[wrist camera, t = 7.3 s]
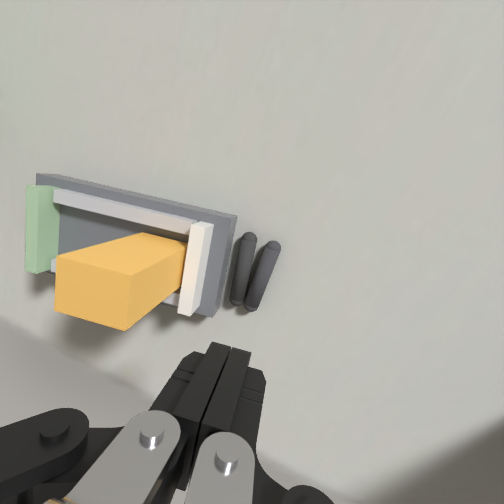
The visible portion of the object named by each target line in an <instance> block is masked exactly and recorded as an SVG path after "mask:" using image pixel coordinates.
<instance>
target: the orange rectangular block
mask: <svg viewBox="0 0 504 504" xmlns="http://www.w3.org/2000/svg"><path fill="white" fill-rule="evenodd" d="M187 247H188V243H184V242H180V241H176V240H172V239H168V238H164V237H160V236H156V235H152V234H148V233H144V232H142V233H138V234H134V235H131V236H127V237H123V238H120V239H116V240H112V241H109V242H105V243H101V244H98V245H94V246H90V247H87V248H83V249H79V250H76V251H72V252H68V253H65V254H61V255H57V256H56V280H55V304H54V311H57V312H61V313H64V314H67V315H71V316H74V317H78V318H81V319H85V320H88V321H92V322H95V323H98V324H102V325H105V326H109V327H112V328H116V329H119V330H122V331H126V330H127V329H129V328H130V327H131V326H132V325H133V324H135V323H136V322H137V321H138V320H140V319H141V318H142V317H143V316H145V315H146V314H147V313H148V312H150V311H151V310H152V309H153V308H155V307H156V306H157V305H158V304H159V303H161V302H162V301H163V300H164V299H166V298H167V297H168V296H169V295H171V294H172V293H173V292H174V291H176V290H177V289H178V288H179V287H180V286H182V279H183V273H184V267H185V260H186V254H187Z"/></svg>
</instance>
